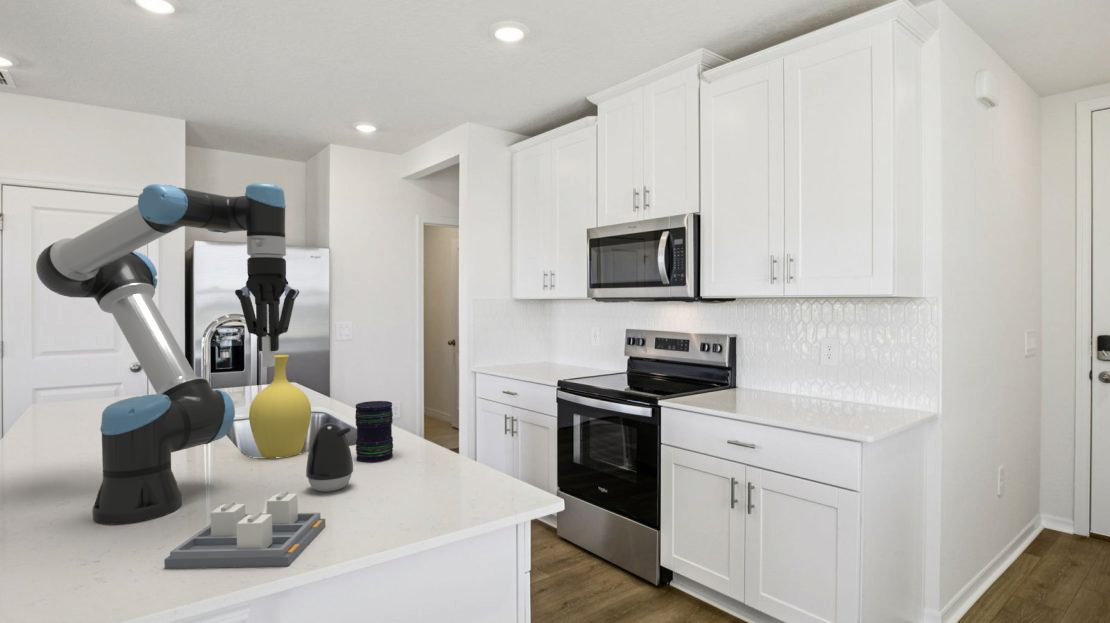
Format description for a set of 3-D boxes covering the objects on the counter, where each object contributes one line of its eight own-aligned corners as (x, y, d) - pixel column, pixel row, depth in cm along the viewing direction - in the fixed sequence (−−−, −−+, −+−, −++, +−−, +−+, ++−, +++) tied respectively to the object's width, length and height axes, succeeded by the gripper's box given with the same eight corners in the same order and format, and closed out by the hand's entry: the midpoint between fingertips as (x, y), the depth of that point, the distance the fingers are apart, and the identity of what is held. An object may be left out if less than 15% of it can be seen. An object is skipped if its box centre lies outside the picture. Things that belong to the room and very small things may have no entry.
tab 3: (267, 528, 109) (266, 497, 109) (276, 520, 113) (276, 490, 113) (289, 527, 109) (288, 497, 109) (297, 519, 113) (297, 490, 113)
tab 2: (237, 553, 98) (236, 519, 98) (248, 543, 102) (248, 511, 102) (261, 553, 98) (260, 519, 98) (272, 543, 102) (271, 510, 102)
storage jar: (401, 456, 165) (400, 402, 164) (372, 464, 157) (372, 408, 156) (376, 451, 170) (375, 399, 170) (348, 459, 162) (347, 405, 162)
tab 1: (211, 540, 104) (210, 509, 103) (223, 531, 108) (222, 501, 107) (234, 540, 104) (233, 508, 103) (245, 531, 108) (245, 500, 107)
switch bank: (164, 568, 97) (164, 552, 97) (220, 528, 114) (220, 514, 114) (288, 566, 97) (287, 549, 97) (325, 526, 114) (325, 512, 114)
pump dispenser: (338, 497, 131) (337, 429, 131) (296, 494, 133) (295, 427, 133) (362, 483, 141) (361, 419, 141) (323, 480, 143) (322, 418, 143)
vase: (268, 446, 177) (266, 352, 176) (321, 446, 176) (319, 352, 176) (237, 461, 161) (235, 358, 160) (296, 461, 160) (294, 358, 160)
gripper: (226, 256, 124) (229, 368, 124) (290, 255, 124) (292, 368, 125) (244, 258, 131) (246, 364, 132) (304, 258, 132) (306, 364, 132)
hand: (268, 366), depth 128 cm, fingers closed
